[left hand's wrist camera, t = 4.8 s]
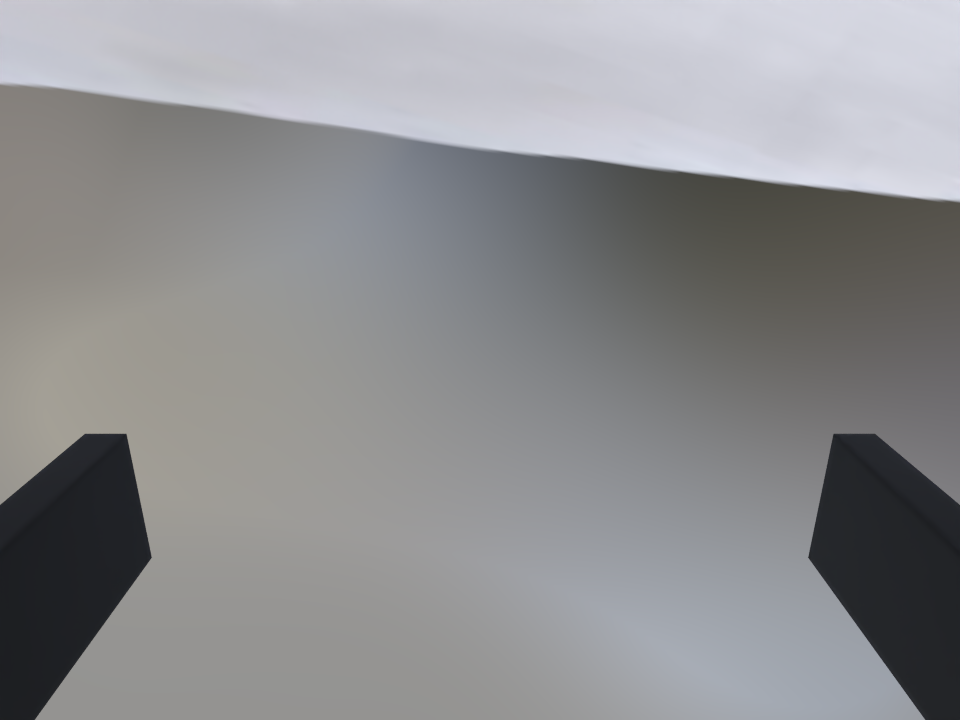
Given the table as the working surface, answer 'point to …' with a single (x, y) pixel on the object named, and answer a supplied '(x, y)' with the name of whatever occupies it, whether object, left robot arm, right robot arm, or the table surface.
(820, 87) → the table surface
